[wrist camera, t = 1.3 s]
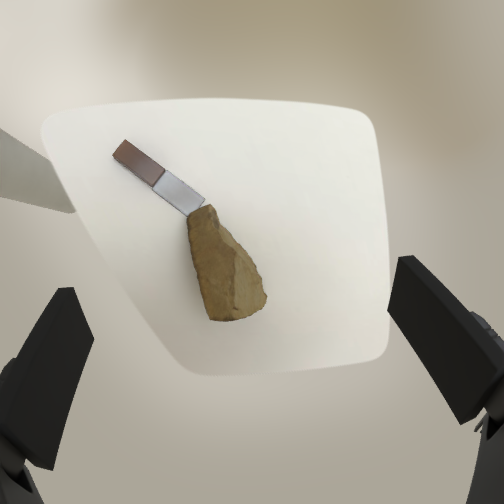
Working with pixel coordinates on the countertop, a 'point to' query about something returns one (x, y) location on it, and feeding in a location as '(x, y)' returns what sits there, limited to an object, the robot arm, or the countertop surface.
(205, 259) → the rock
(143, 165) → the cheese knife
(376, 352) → the countertop surface
